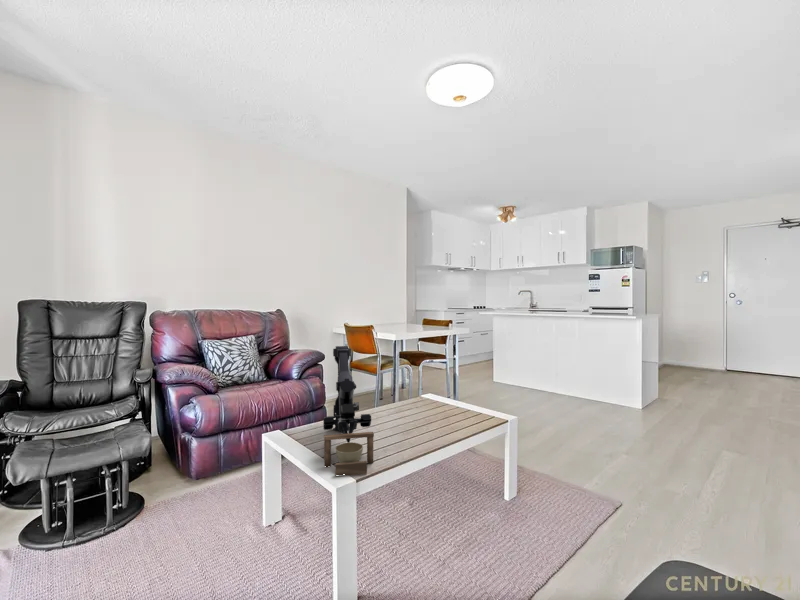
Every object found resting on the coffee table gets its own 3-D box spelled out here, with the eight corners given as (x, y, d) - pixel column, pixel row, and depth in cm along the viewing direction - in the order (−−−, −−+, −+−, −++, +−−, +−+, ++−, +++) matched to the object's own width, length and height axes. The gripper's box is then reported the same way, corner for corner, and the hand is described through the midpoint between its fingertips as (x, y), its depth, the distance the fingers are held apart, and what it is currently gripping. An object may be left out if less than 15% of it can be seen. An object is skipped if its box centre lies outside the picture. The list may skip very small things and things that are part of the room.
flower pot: (350, 458, 151) (350, 440, 151) (368, 465, 144) (368, 446, 144) (330, 467, 143) (330, 447, 143) (348, 475, 137) (348, 454, 137)
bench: (324, 464, 145) (324, 435, 145) (372, 460, 149) (372, 431, 149) (324, 477, 135) (324, 445, 135) (377, 472, 139) (377, 441, 139)
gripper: (323, 396, 152) (324, 433, 141) (370, 393, 156) (375, 429, 145) (323, 411, 159) (323, 447, 148) (368, 408, 163) (371, 443, 152)
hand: (348, 441), depth 148 cm, fingers closed, pressing on flower pot
